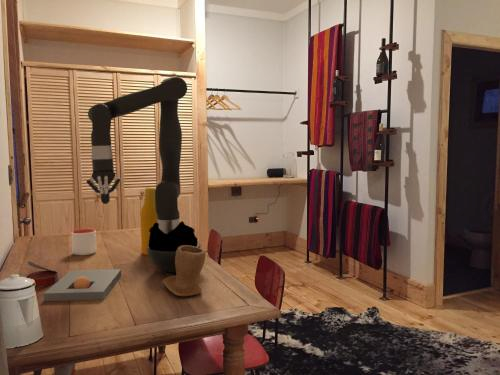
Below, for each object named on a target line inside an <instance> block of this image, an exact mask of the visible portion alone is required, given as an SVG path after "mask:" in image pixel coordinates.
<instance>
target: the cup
mask: <svg viewBox="0 0 500 375" xmlns="http://www.w3.org/2000/svg"><path fill="white" fill-rule="evenodd" d="M71 249H72V250H71V251H72V254H73V255H76V256H88V255H89V256H90V255H92V254H95V253H96V252H97V232H96V229H93V228H84V229H83V228H82V229H75V230H73V231H71Z"/></svg>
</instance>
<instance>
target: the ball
mask: <svg viewBox="0 0 500 375" xmlns="http://www.w3.org/2000/svg"><path fill="white" fill-rule="evenodd" d="M89 287H90V281H89V279H88V278H86V277H79V278H77V279H76V280H75V282H74V288H75V289H88V288H89Z"/></svg>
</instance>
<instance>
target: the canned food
mask: <svg viewBox="0 0 500 375" xmlns="http://www.w3.org/2000/svg"><path fill="white" fill-rule="evenodd" d="M27 265H29V266H30V267H32V268H35V269H41V270H37V271H34V272H31V273H29V274H27V275H26V279H27V278H31V279H34V280H35V282H36V286H37V287H36V288H40V287H39V286H43V287H48V286H51V285H52V286H53V285H54V284H55V283H57V282H58V281H59V275H58V274H59V273H58V271H57V270H52V269H48V268H45V267H44V266H40V265H39V264H36V263H34V262H32V261H29V260H27Z"/></svg>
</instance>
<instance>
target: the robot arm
mask: <svg viewBox="0 0 500 375" xmlns="http://www.w3.org/2000/svg"><path fill="white" fill-rule="evenodd" d="M187 91H188V85H187V82H186V80H184V78H181V77H180V76H169V77H166V78H165V79H163V80H162V81H161V82H160V84H158V85H156V86H152V87H150V88H146V89H143V90H138V91H134V92H130V93H128V94H124V95H122V96H118V97H115V98H114V99H112V100H109V101H105V102H102V103H96V104H94V105H92V106H91V107H90V108H89V109H88V112H87V117H88V119H89V120H90V122H91V128H92V129H91V132H90V133H91V134H90V139H91V140H90V142H91V150H90V151H91V155H90V156H91V165H92V174H91V177H90V178H89V179H87V180H86V181H85V182H86V184H88V186H89V187H90V188H91V189H92V190H93V191H94V193H96V194H97V193H98V194H99V195H100V201H101V203H103V204H104V205H106V204H107V205H108V204H109V203H110V201H111V200H110V198H111V196H110V193H113V192H115V190H116V188H117V187H118V186H119V185H120V183H121V181H122V178H121V177H118V176H116V173H115V167H114V154H113V153H114V152H113V148H112V137H111V130H112V120H113V119H115V118H118V117H123V116H127V115H129V114H131V113H135V112H138V111H140V110H143V109H145V108H148V107H150V106H153V105H156V104H159V103H160V104H159V105H160V117H159V132H158V133H159V134H158V135H159V137H158V150H159V152H158V153H159V157H160V160H161V168H162V169H161V180H160V182H159V183H158V184H157V185H156V186H155V207H156V213H157V223H159V229H160V230H161V231H163V232H164V233H165V234H168V233H169V232H170V231H172V230H173V229H175V228H176V227H177V225H179V223H180V222H181V219H180V218H181V215H180V214H181V213H180V211H179V208H178V205H179V204H178V202H179V201H178V198H179V196H180V194H181V189H182V188H181V178H180V177H181V176H180V168H181V167H180V166H181V158H182V156H181V155H182V144H183V133H182V127H181V122H180V120H179V113H178V112H179V111H178V110H179V109H178V107H179V100H181V99H182V98H184V97H185V96H186V94H187ZM112 182H114V183H113V184H112ZM95 183H96V184H97V185H98V186H97V185H96V184H95ZM111 184H112V185H111ZM110 186H111V187H110Z"/></svg>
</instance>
